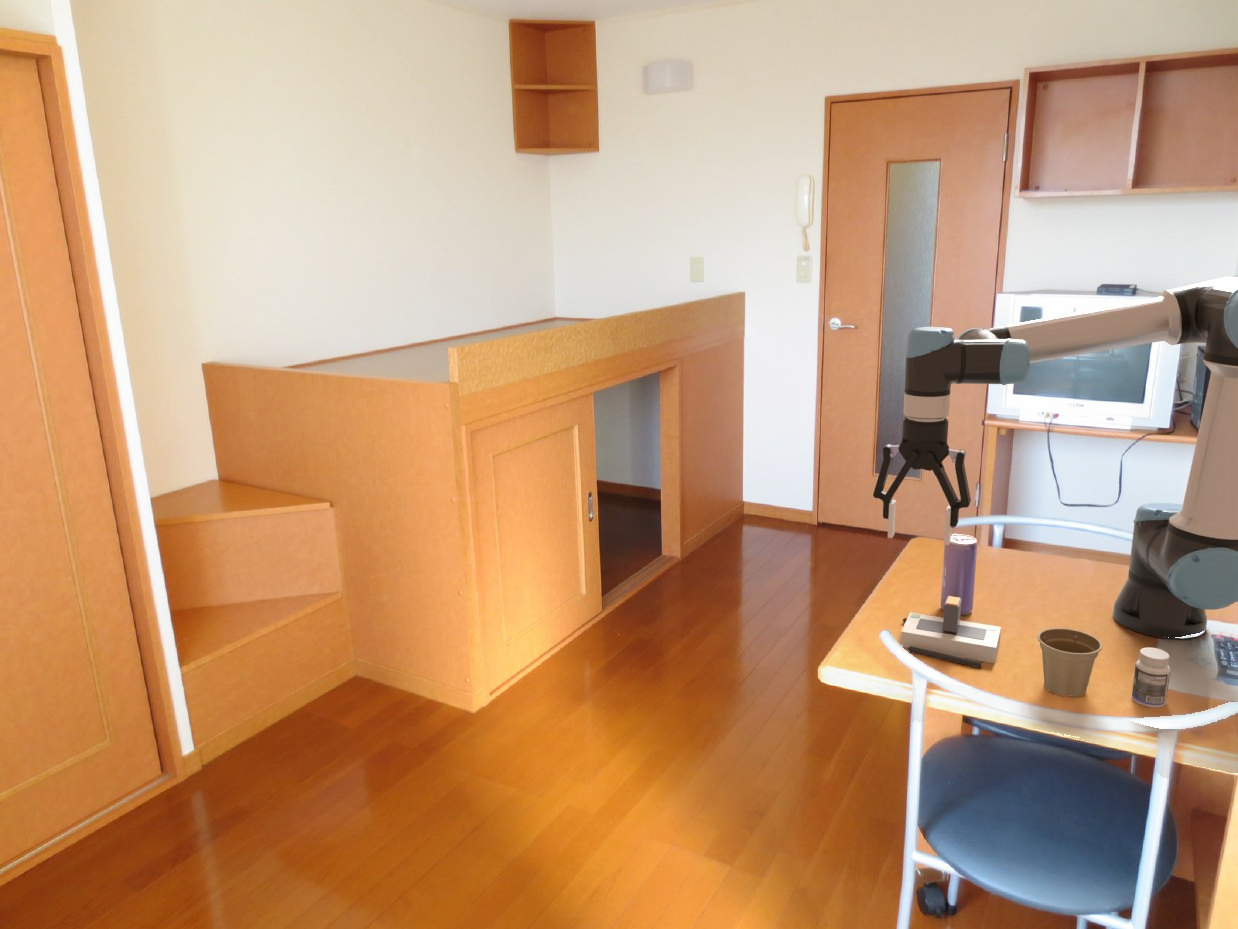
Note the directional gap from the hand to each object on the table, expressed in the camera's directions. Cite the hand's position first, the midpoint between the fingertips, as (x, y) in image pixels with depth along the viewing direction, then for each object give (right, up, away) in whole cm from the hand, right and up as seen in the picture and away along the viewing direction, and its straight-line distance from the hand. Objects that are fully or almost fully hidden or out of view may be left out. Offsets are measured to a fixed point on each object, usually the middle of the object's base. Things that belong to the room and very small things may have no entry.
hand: (918, 539), depth 160 cm
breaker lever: (+6, -16, +1) cm, 17 cm away
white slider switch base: (+6, -19, +2) cm, 21 cm away
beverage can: (+13, -16, +16) cm, 26 cm away
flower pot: (+19, -24, -14) cm, 33 cm away
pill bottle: (+30, -24, -19) cm, 43 cm away
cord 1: (+3, -21, -4) cm, 22 cm away
